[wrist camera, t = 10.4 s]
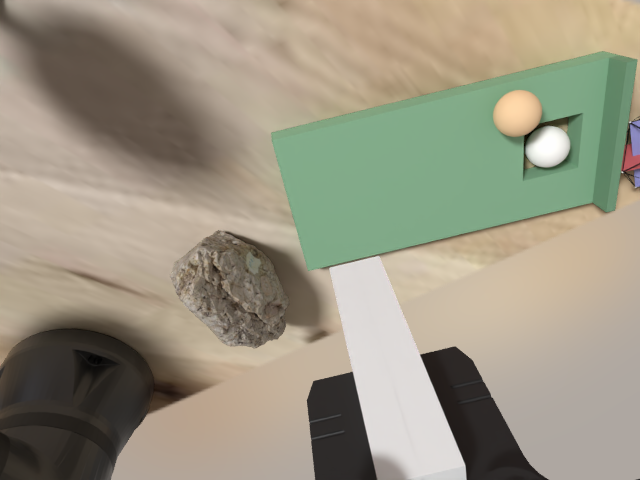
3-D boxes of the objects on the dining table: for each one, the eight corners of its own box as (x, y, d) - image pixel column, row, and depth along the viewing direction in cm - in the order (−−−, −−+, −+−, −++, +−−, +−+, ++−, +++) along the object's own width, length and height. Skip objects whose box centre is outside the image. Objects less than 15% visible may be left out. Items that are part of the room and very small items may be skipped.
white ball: (567, 174, 38) (570, 156, 41) (570, 135, 36) (573, 118, 39) (521, 174, 40) (527, 157, 42) (522, 136, 38) (528, 120, 40)
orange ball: (485, 133, 38) (505, 147, 35) (485, 91, 36) (505, 102, 33) (527, 123, 38) (550, 136, 35) (528, 80, 36) (552, 90, 33)
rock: (337, 318, 41) (277, 386, 40) (287, 266, 49) (236, 322, 48) (230, 236, 32) (153, 323, 32) (190, 189, 40) (128, 258, 40)
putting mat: (306, 259, 44) (310, 283, 41) (271, 132, 38) (272, 149, 34) (587, 191, 44) (615, 210, 41) (602, 51, 37) (637, 59, 34)
